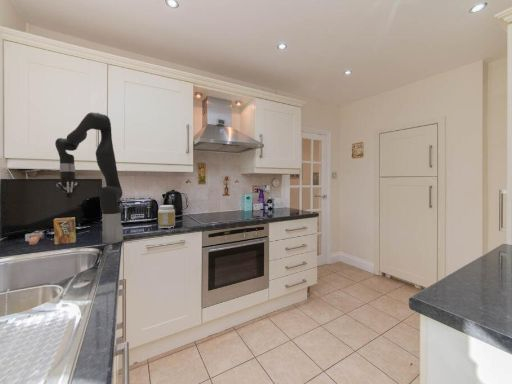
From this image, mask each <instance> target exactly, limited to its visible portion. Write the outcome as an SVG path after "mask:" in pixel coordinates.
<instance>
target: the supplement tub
mask: <svg viewBox="0 0 512 384" xmlns="http://www.w3.org/2000/svg"><path fill="white" fill-rule="evenodd" d="M158 206H159V207H158V208H159V209H158V210H157V216H158V219H157V222H158V225H157V226H158V229H161V228H168V229H172V228H171V227H173V228H175V227H176V211H175V209H174V208H175V207H174V204H173V205H172V204H164V205H163V204H162V205H158ZM174 226H175V227H174Z"/></svg>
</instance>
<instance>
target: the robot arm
mask: <svg viewBox="0 0 512 384" xmlns="http://www.w3.org/2000/svg"><path fill="white" fill-rule="evenodd" d="M91 130H96V131H100V138H101V139H100V142H99V144H98V146H97V148H96V151H95V158H96V164H97V166H98V168H99V170H100V172H101V174H102V176H103V177H104V180H105V186H104V187H102V188H101V190H100V191H99V204H100V207H99V208H100V210H101V212H102V213H101V214H102V218H101V219H102V243H103V244H106V245H109V244H118V243H119V242H123V241H124V227H123V224H122V214H121V213H122V212H121V211H122V209H121V207H120V206H119V205H118V201H119V200H120V199H121V198H122V196H123V189H122V186H121V183H120V179H119V175H118V174H119V173H118V168H117V161H116V156H115V151H114V144H113V137H112V136H113V135H112V124H111V119H110V117H109V116H108V115H106V114H102V113H97V112H89V113H86V115H85V116H84V117H83V119H82V120H81V121H80V122H79V124H78V126H77V127H76V128H75V129H73V131H71V132H70V133H69V134H67V136H66V138H63V137H59V138H57V139H55V143H54V144H55V148H56V150H57V154H58V156H59V182H58V183H55V186H56V187H57V189H59V191H60V192H62V193H64V195H65V199H72V198H73V192H75V191H76V190H77V189H78V188H79V187H80V185H81V184H80V183H78V182H77V180H76V165H75V156H74V154H70V153H68V152H67V151H71V152H72V151H76V150H77V149H78V147H79V145H80V144H81V143H82V142H84V141H85V140H86V139H87V136H88V131H91Z"/></svg>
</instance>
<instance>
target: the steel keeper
mask: <svg viewBox="0 0 512 384" xmlns="http://www.w3.org/2000/svg"><path fill="white" fill-rule="evenodd" d="M39 232H41V230H35V231H33V233H34V234H31V233H26V234H25V235H24V239H25V242H29V239H30V238H31V236H37V235H43V234H44V233H43V232H42V233H39Z"/></svg>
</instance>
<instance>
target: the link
mask: <svg viewBox="0 0 512 384" xmlns="http://www.w3.org/2000/svg"><path fill="white" fill-rule="evenodd" d="M39 233H43V231H40V232H39ZM30 234H34V232H31V233H30ZM40 238H43V235H37V236H31V238H30V239H29V241H28V244H29V246H31V245H32V246H33V245H37V244H38V242H39V240H40Z"/></svg>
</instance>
